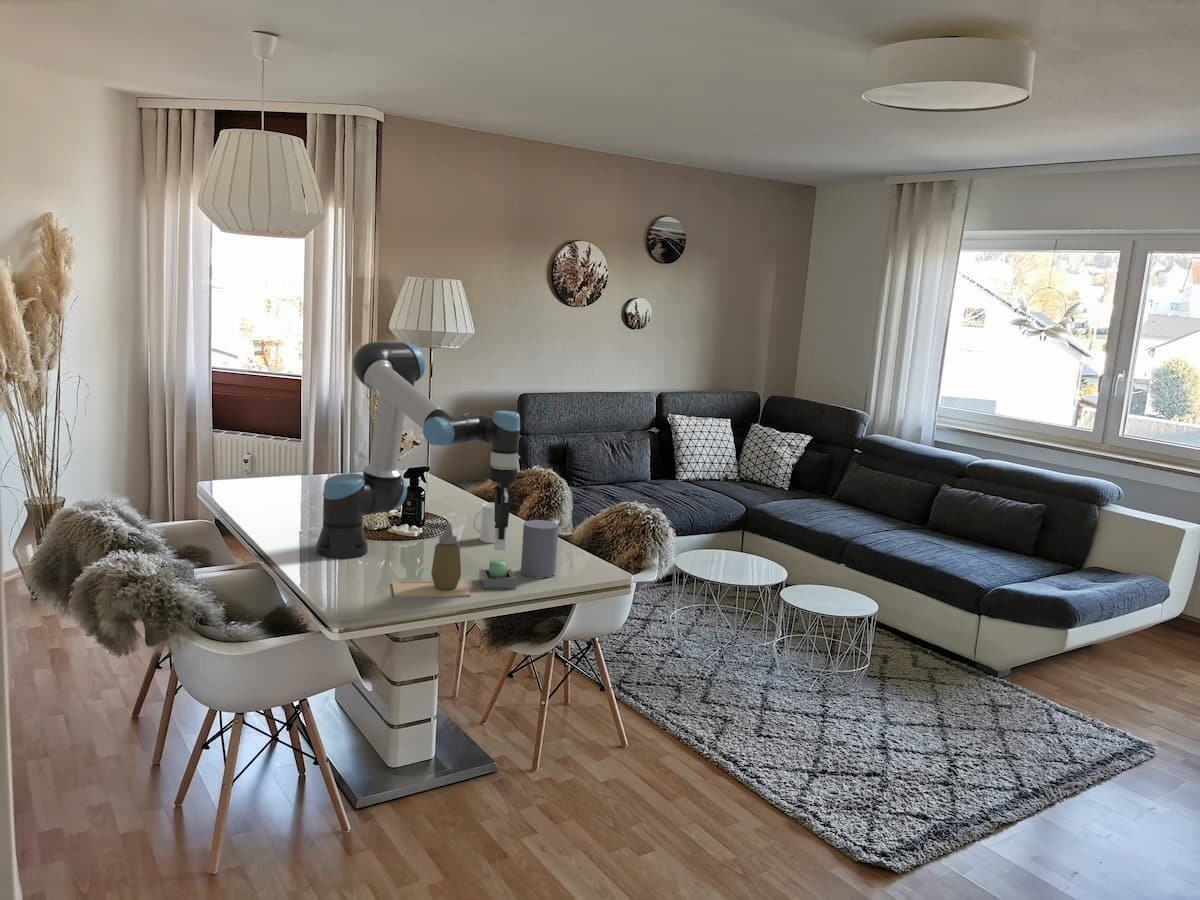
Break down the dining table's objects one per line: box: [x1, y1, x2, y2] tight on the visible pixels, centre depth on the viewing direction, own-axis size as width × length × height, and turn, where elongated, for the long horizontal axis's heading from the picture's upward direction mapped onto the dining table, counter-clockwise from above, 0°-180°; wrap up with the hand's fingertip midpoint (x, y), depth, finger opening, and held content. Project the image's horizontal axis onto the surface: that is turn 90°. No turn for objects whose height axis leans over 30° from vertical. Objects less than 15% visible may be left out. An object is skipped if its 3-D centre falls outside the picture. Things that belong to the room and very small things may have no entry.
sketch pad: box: [391, 580, 471, 599], centre depth 248 cm, size 20×12×1 cm, turn 106°
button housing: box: [478, 568, 517, 591], centre depth 257 cm, size 9×9×3 cm
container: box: [520, 519, 560, 578], centre depth 269 cm, size 10×10×15 cm
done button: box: [488, 559, 508, 578], centre depth 256 cm, size 5×5×5 cm
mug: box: [472, 502, 496, 544], centre depth 302 cm, size 12×8×12 cm
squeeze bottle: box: [430, 522, 462, 590], centre depth 247 cm, size 8×8×18 cm
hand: (499, 549), depth 255 cm, fingers closed
